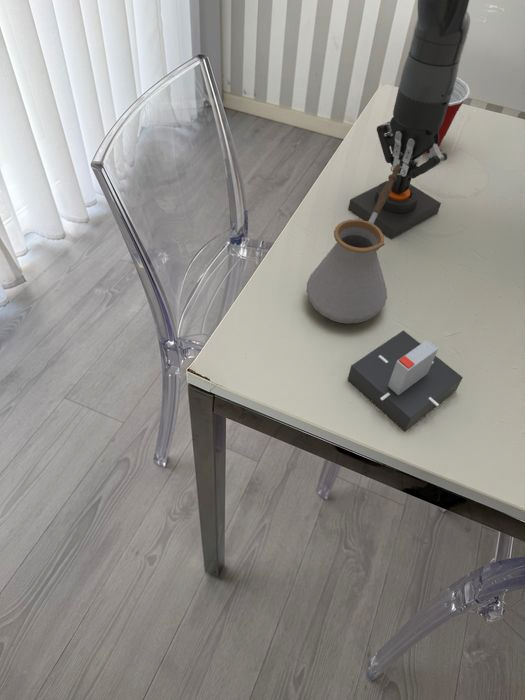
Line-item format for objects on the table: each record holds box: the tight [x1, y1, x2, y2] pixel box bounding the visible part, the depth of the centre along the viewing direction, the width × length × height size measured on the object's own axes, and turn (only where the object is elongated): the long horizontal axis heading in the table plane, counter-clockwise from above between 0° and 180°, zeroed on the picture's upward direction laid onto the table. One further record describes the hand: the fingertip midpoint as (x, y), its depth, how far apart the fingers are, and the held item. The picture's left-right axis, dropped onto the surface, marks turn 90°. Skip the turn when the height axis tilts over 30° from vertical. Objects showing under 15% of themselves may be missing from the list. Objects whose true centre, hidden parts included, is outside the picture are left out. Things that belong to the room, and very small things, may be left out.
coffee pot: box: [306, 164, 406, 324], centre depth 80 cm, size 21×12×15 cm, turn 153°
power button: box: [388, 189, 410, 201], centre depth 95 cm, size 4×4×2 cm
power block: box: [347, 180, 442, 240], centre depth 96 cm, size 12×10×4 cm
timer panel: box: [347, 329, 463, 432], centre depth 72 cm, size 11×11×3 cm
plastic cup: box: [425, 77, 471, 154], centre depth 107 cm, size 11×11×12 cm
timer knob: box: [388, 339, 439, 395], centre depth 69 cm, size 6×2×5 cm, turn 129°
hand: (398, 191), depth 94 cm, fingers closed
